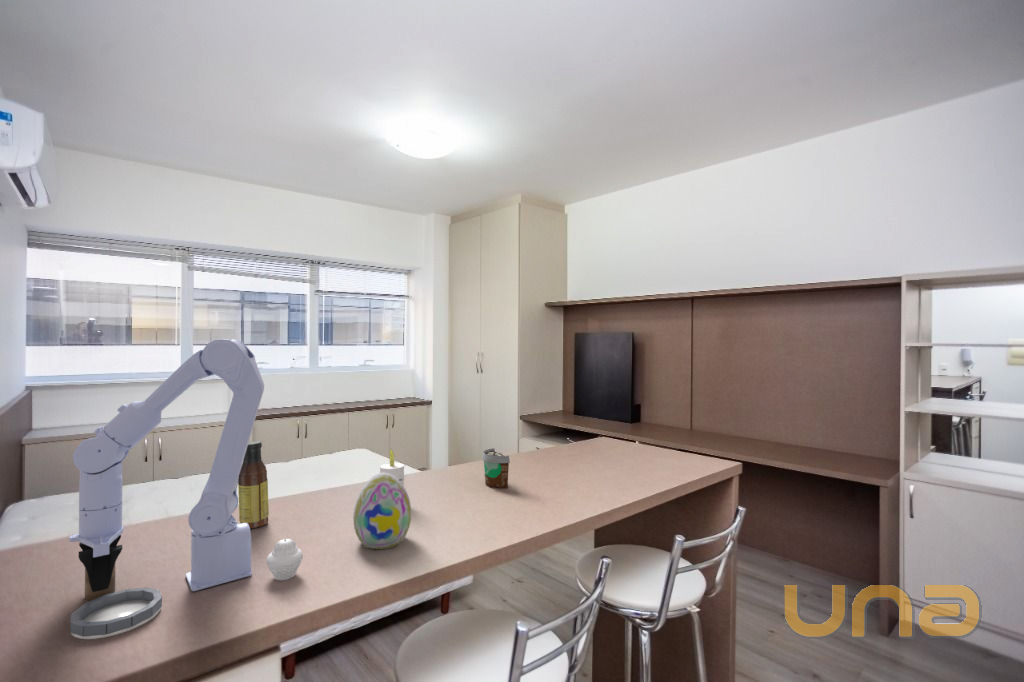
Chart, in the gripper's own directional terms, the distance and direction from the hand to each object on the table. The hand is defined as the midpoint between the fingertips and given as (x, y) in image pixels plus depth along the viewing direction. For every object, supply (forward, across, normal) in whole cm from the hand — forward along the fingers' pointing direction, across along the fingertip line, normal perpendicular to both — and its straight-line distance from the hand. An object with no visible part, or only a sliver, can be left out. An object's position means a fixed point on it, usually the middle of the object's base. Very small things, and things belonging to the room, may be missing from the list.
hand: (100, 584), depth 84 cm
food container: (+2, -7, +92) cm, 92 cm away
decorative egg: (+2, +11, +47) cm, 48 cm away
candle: (+2, -10, +60) cm, 61 cm away
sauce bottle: (+2, -18, +28) cm, 33 cm away
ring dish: (+2, +12, +2) cm, 12 cm away
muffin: (+2, +14, +26) cm, 30 cm away
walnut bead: (+2, 0, 0) cm, 2 cm away
